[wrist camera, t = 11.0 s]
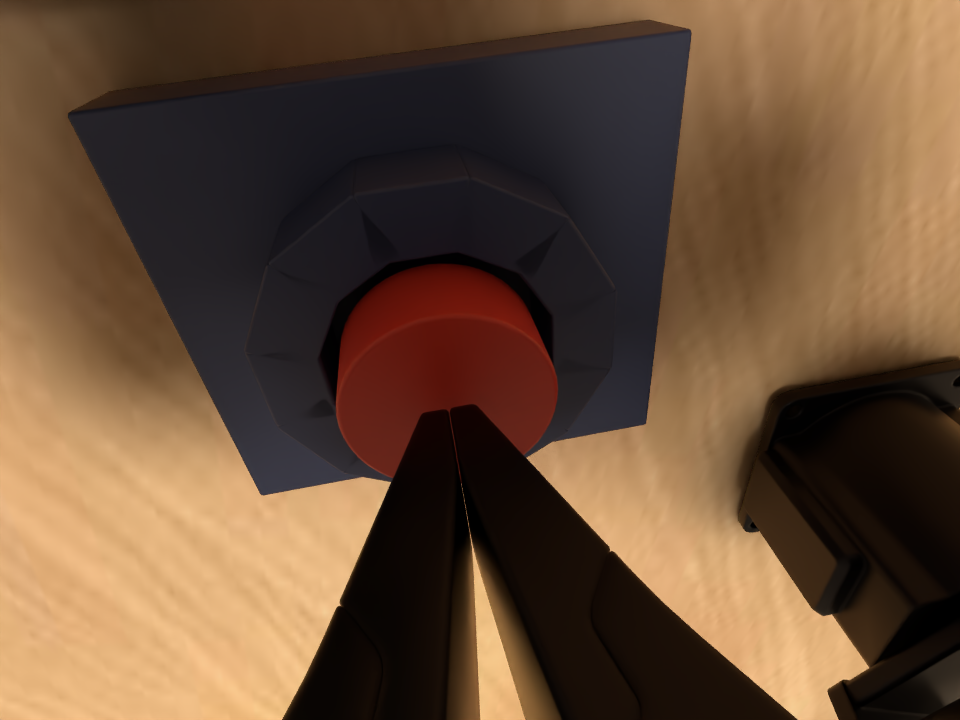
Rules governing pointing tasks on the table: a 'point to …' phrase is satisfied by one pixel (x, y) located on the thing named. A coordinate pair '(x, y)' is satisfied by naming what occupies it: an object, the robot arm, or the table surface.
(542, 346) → the button
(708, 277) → the table surface
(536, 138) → the button housing
